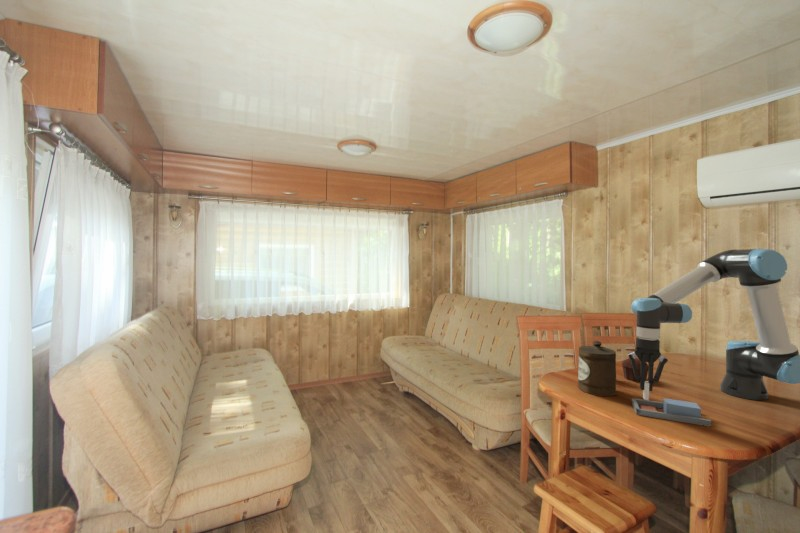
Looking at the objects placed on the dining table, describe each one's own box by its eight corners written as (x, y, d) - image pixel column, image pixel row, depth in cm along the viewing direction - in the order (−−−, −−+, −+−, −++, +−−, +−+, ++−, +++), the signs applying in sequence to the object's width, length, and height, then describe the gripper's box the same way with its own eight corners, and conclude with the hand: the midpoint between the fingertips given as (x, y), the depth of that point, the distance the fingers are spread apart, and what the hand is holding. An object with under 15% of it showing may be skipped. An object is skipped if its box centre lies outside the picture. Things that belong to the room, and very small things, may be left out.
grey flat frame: (699, 413, 137) (699, 407, 136) (710, 426, 125) (711, 421, 125) (631, 402, 146) (631, 397, 146) (636, 414, 135) (636, 409, 135)
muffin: (642, 376, 179) (643, 356, 179) (654, 383, 168) (654, 362, 168) (616, 374, 181) (617, 355, 181) (626, 382, 170) (627, 361, 170)
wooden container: (576, 382, 170) (577, 336, 169) (612, 387, 164) (613, 339, 163) (579, 393, 156) (580, 343, 155) (618, 398, 150) (619, 346, 150)
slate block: (695, 416, 134) (696, 402, 134) (700, 422, 129) (700, 408, 129) (663, 410, 139) (663, 398, 139) (666, 416, 134) (666, 403, 133)
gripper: (666, 338, 139) (664, 398, 139) (626, 334, 144) (624, 392, 145) (670, 342, 132) (668, 405, 132) (629, 338, 137) (627, 398, 138)
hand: (645, 398), depth 139 cm, fingers closed
